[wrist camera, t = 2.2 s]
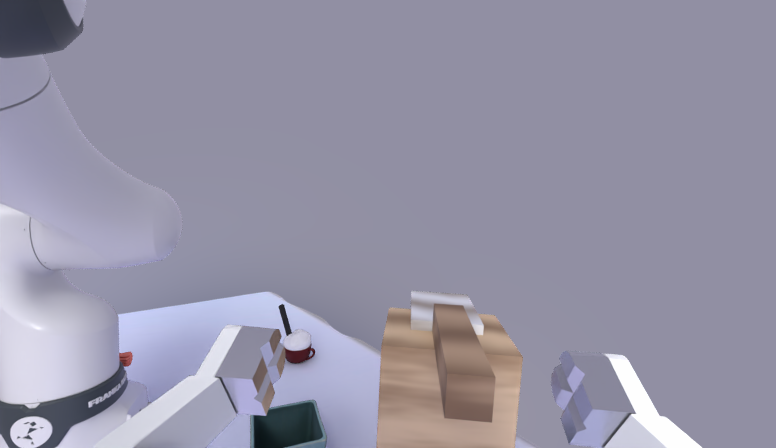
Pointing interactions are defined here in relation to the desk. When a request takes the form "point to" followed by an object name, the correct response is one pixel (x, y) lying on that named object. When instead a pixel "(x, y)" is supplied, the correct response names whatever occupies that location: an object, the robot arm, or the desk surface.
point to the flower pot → (288, 427)
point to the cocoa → (295, 342)
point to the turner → (457, 353)
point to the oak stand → (423, 396)
